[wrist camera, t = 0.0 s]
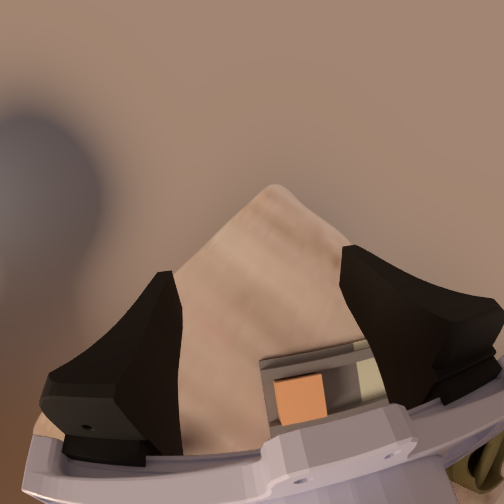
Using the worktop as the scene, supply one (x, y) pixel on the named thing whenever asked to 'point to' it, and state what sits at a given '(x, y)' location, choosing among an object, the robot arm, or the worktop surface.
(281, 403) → the block
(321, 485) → the robot arm
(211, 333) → the worktop surface
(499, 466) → the piston
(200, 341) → the worktop surface
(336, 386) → the chute
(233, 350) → the worktop surface
